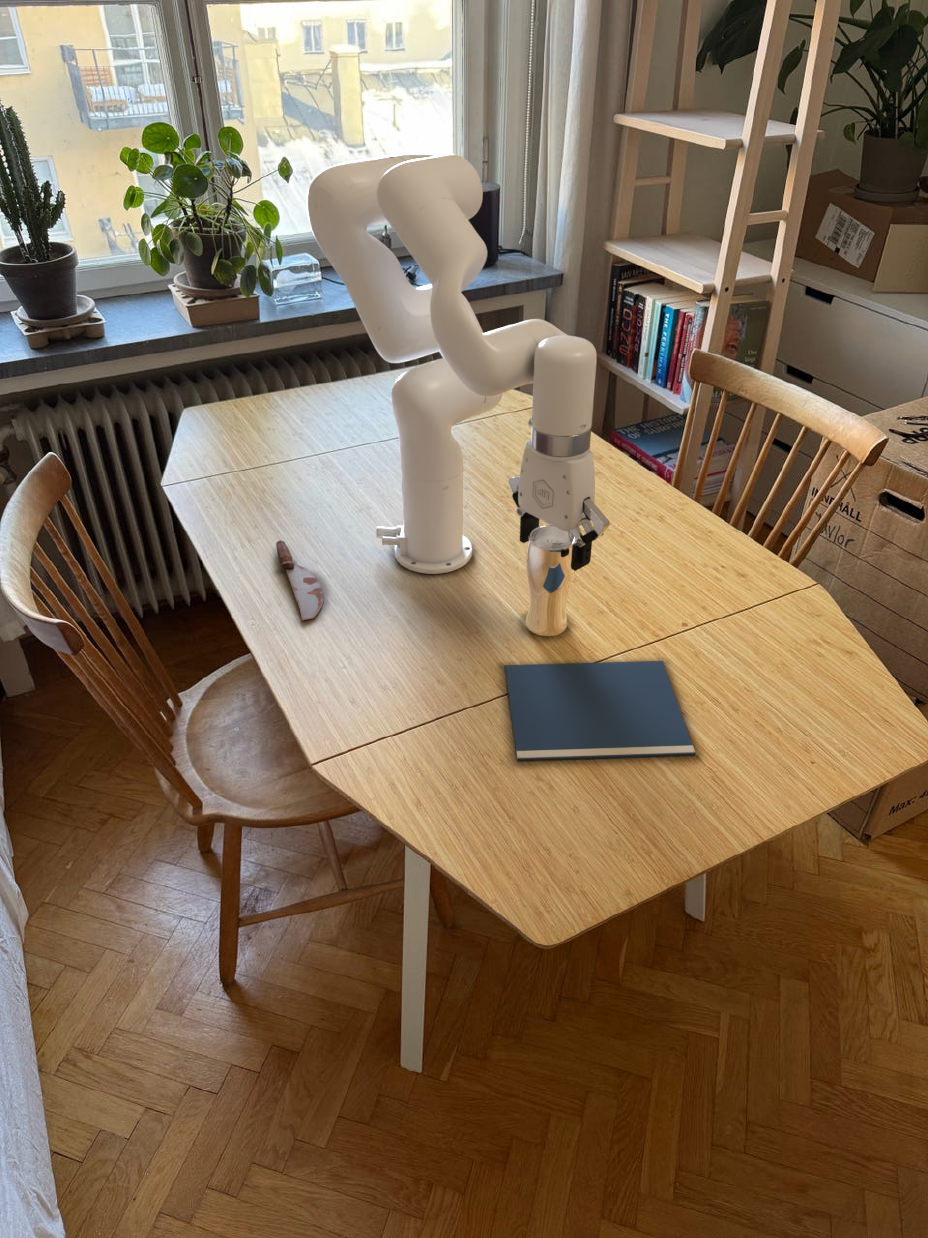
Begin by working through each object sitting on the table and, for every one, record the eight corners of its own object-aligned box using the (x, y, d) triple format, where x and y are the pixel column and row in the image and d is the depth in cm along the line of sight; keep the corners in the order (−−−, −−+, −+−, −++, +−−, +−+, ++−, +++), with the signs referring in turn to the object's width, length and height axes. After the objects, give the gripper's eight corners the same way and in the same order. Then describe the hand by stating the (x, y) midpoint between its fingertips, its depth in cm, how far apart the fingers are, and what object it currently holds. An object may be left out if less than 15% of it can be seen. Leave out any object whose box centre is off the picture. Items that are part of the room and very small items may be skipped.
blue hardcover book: (517, 761, 112) (517, 759, 112) (504, 667, 127) (504, 664, 127) (695, 755, 113) (695, 753, 113) (662, 662, 128) (663, 660, 128)
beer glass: (519, 611, 137) (523, 524, 128) (565, 609, 138) (573, 522, 129) (525, 640, 132) (531, 551, 123) (573, 637, 132) (582, 549, 123)
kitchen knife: (333, 613, 136) (299, 616, 134) (332, 622, 137) (299, 625, 135) (305, 536, 151) (274, 538, 149) (304, 545, 152) (274, 547, 150)
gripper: (492, 425, 120) (491, 538, 130) (592, 469, 110) (582, 588, 120) (533, 409, 124) (528, 520, 134) (632, 450, 114) (620, 567, 124)
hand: (554, 552), depth 127 cm, fingers open, 9 cm apart
